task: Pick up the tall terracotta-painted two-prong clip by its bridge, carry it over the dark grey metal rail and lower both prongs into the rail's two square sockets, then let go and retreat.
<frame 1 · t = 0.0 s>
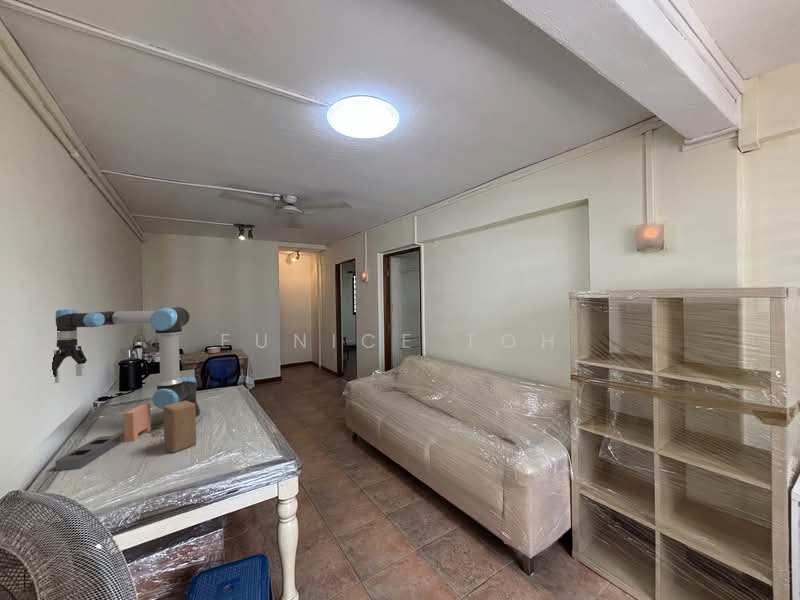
hand: (68, 379, 164), 28 cm above the table, fingers open, 13 cm apart
clip: (138, 435, 160), on the table
rail: (90, 455, 140), on the table
wooden block: (180, 446, 148), on the table
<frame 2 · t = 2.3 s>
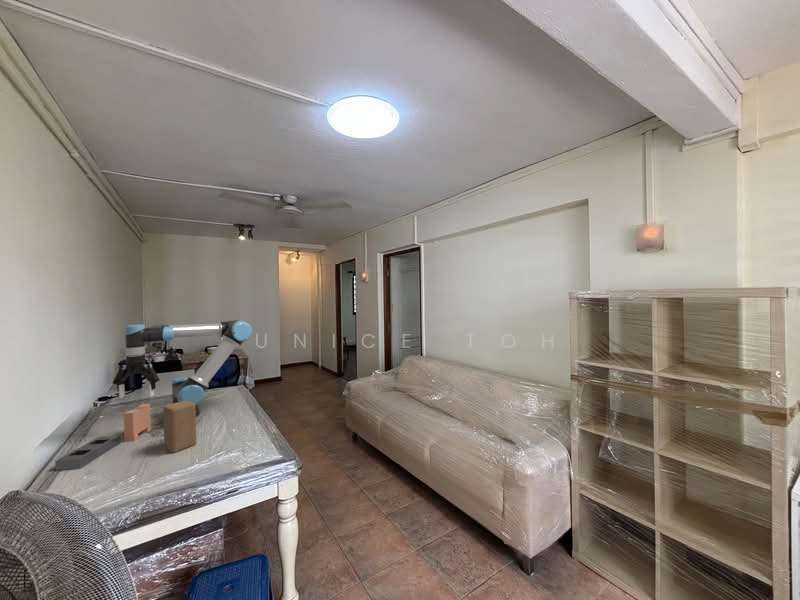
hand: (136, 396, 159), 20 cm above the table, fingers open, 13 cm apart
nothing on the table moved.
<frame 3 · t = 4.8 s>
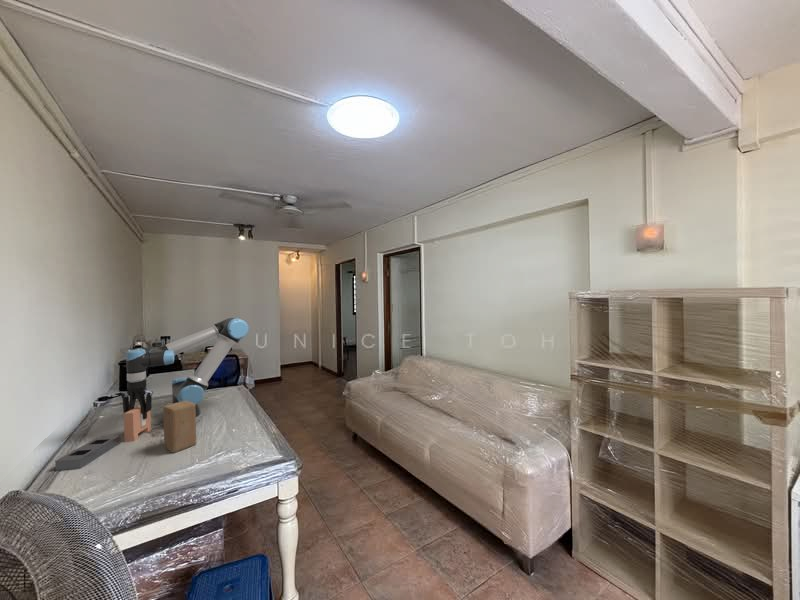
hand: (138, 425, 160), 5 cm above the table, fingers closed on clip, 4 cm apart
clip: (138, 435, 160), on the table, touching gripper
everything else where it was.
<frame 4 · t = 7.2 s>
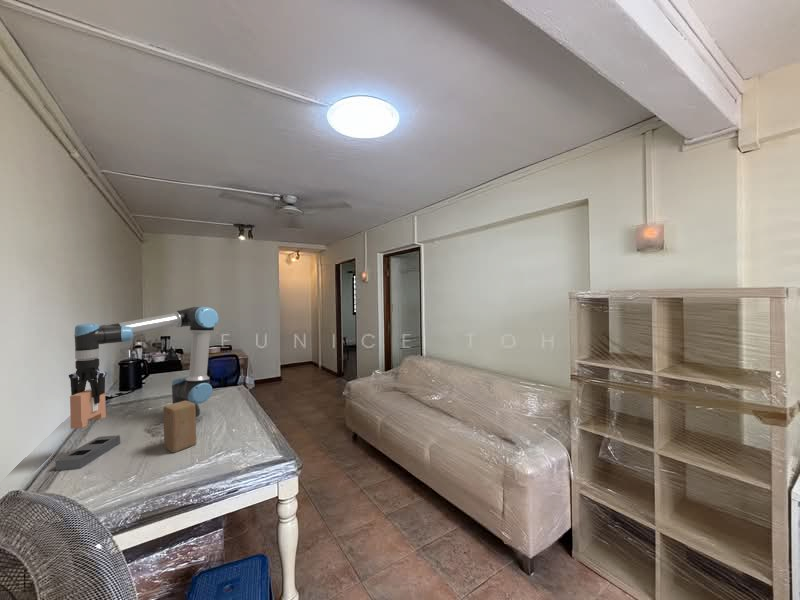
hand: (88, 411, 139), 20 cm above the table, fingers closed on clip, 4 cm apart
clip: (89, 422, 140), point 15 cm above the table, touching gripper
everything else where it was.
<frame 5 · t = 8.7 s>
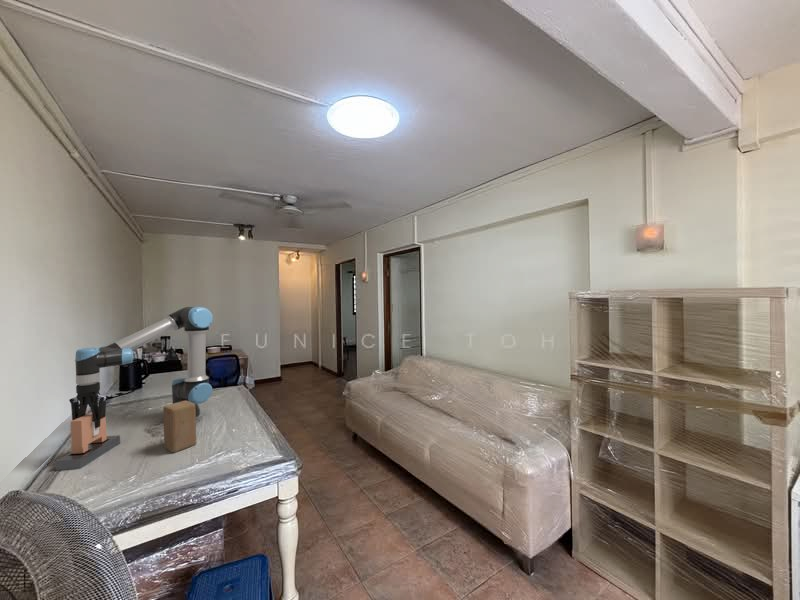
hand: (89, 435, 140), 9 cm above the table, fingers closed on clip, 4 cm apart
clip: (89, 446, 140), point 4 cm above the table, touching gripper
everything else where it was.
when the fingers open (8 cm above the table, at t = 9.8 s): clip drops 2 cm, resting on rail.
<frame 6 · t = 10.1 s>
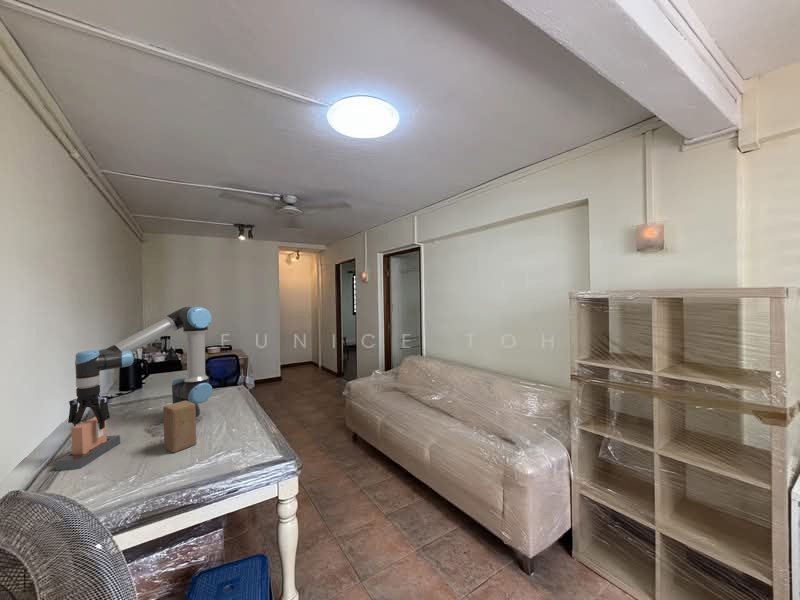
hand: (89, 436, 140), 9 cm above the table, fingers open, 7 cm apart
clip: (90, 452, 140), point 1 cm above the table, touching rail
everything else where it was.
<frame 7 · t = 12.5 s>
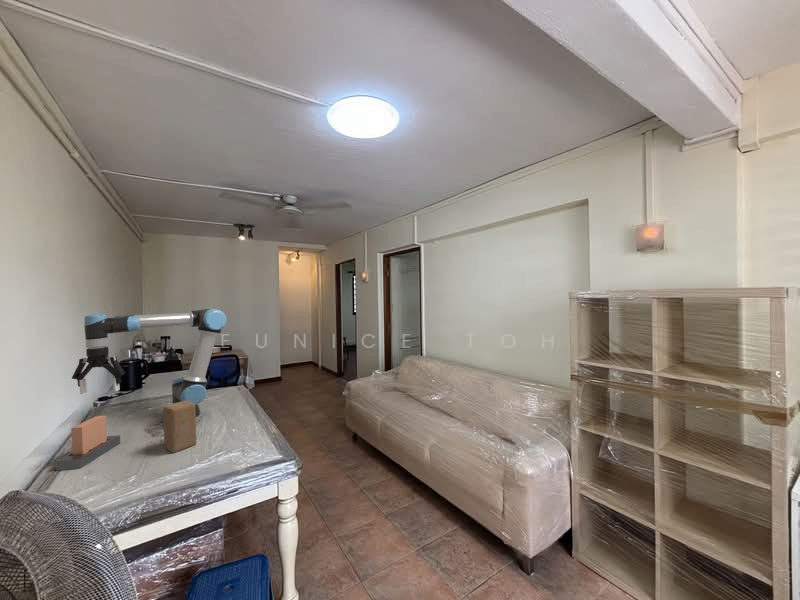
hand: (100, 391, 148), 26 cm above the table, fingers open, 13 cm apart
nothing on the table moved.
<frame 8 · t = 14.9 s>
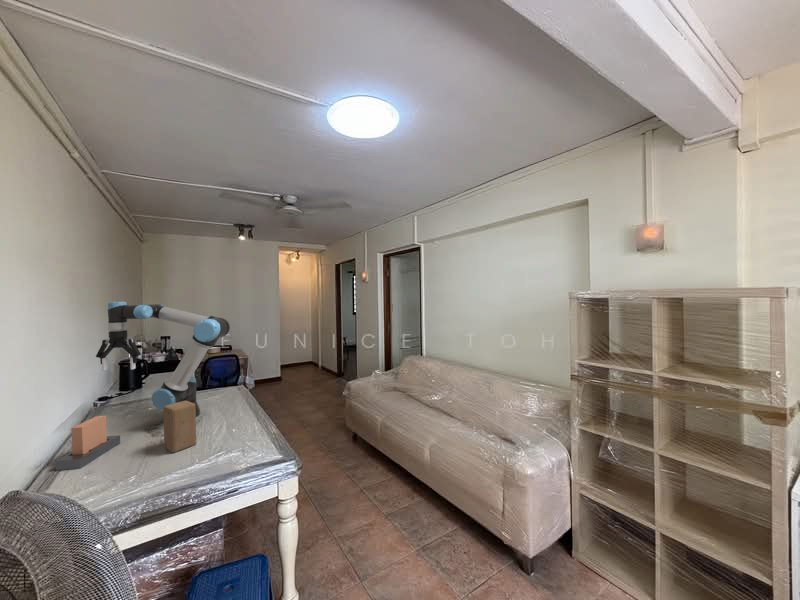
hand: (119, 369, 169), 32 cm above the table, fingers open, 13 cm apart
nothing on the table moved.
at the end: clip 0.0 cm off-centre on the rail, point 1.5 cm above the rail's base; clip tilted 0°; the gripper is holding nothing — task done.
